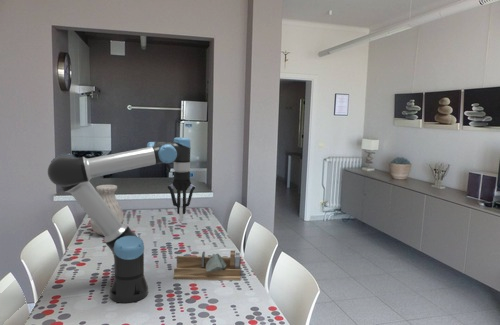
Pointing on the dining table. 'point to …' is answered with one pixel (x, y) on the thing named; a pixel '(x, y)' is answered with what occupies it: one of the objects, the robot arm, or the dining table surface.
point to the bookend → (203, 260)
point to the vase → (108, 203)
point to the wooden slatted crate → (193, 268)
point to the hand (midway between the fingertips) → (181, 220)
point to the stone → (215, 263)
